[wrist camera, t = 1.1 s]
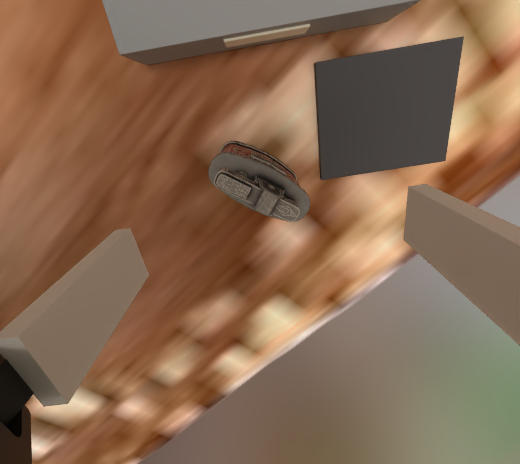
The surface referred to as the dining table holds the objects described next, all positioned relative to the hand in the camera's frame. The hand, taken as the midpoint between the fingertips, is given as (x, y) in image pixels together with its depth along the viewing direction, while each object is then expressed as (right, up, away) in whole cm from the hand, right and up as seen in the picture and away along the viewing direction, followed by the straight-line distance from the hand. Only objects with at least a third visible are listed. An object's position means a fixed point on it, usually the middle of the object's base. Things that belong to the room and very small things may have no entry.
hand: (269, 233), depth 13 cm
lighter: (-1, +6, +14) cm, 15 cm away
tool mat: (+11, +11, +12) cm, 19 cm away
